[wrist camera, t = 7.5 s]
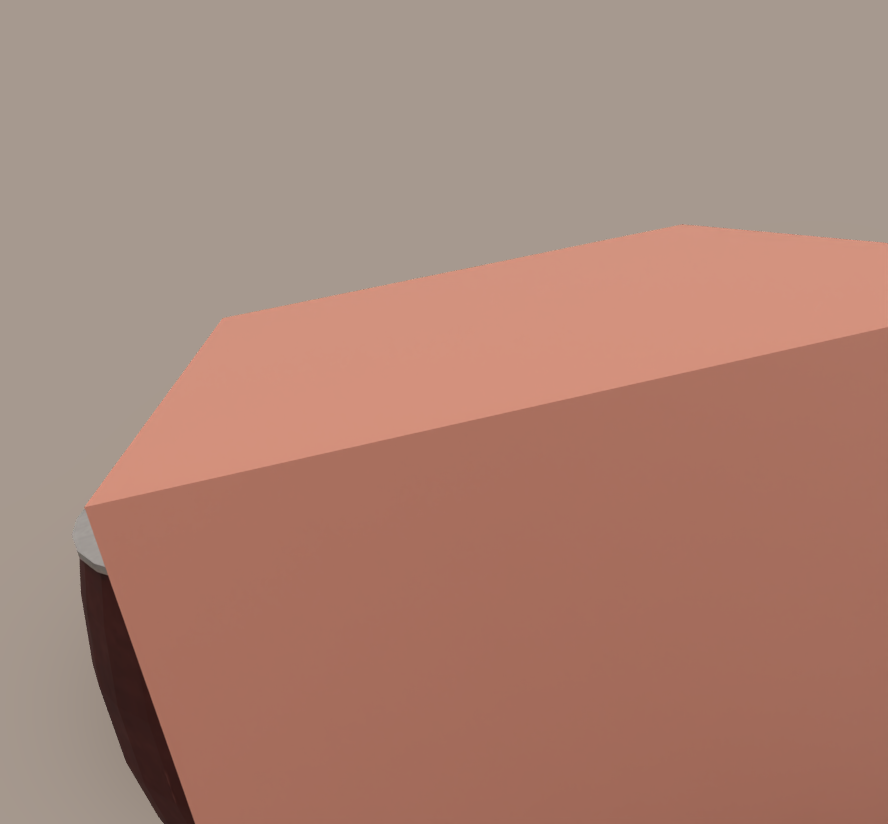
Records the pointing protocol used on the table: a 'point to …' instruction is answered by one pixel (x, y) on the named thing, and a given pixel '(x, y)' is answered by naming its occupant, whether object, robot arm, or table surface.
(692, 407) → the marked block
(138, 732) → the mate gourd
